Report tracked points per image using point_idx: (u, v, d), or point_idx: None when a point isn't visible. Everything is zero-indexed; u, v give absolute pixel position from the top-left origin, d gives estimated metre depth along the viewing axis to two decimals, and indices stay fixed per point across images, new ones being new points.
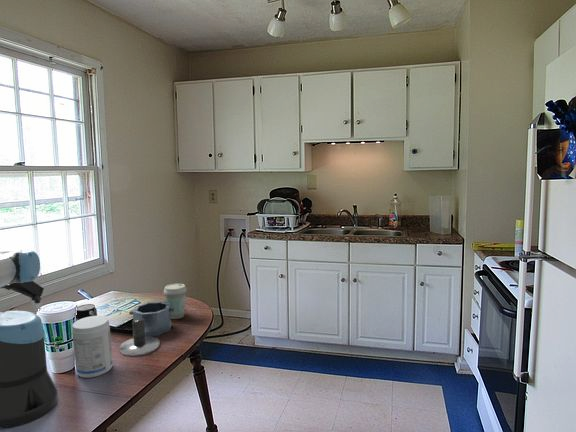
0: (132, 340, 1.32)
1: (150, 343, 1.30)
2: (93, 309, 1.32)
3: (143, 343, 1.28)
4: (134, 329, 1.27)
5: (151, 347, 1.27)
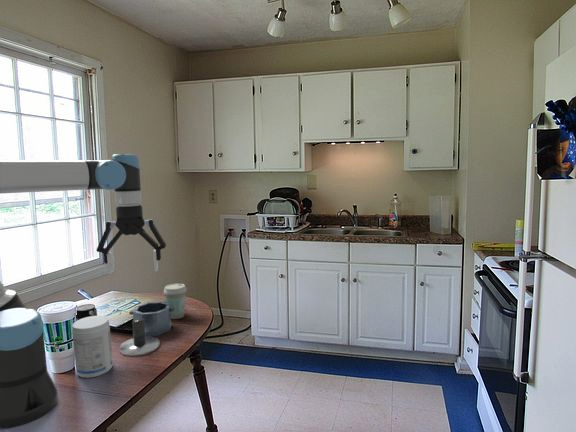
0: (132, 340, 1.32)
1: (150, 343, 1.30)
2: (93, 309, 1.32)
3: (143, 343, 1.28)
4: (134, 329, 1.27)
5: (151, 347, 1.27)
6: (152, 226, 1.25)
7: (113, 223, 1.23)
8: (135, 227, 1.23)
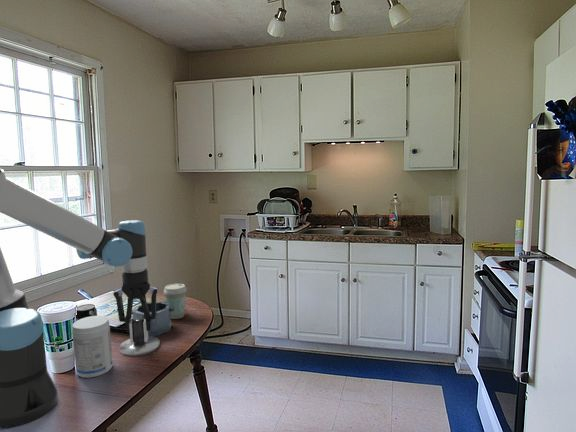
0: None
1: (150, 343, 1.30)
2: (93, 309, 1.32)
3: (143, 343, 1.28)
4: (134, 329, 1.27)
5: (151, 346, 1.27)
6: (154, 295, 1.27)
7: (120, 290, 1.26)
8: (140, 292, 1.25)
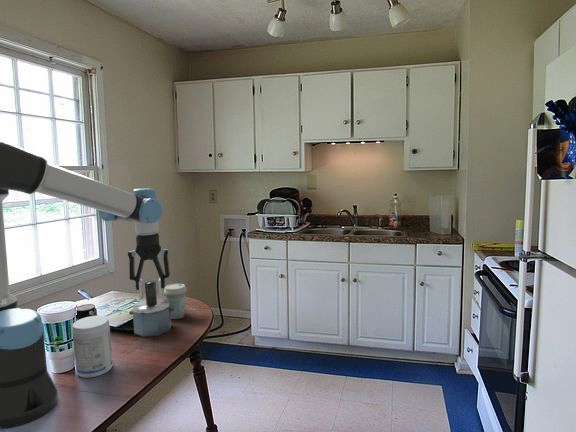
0: (144, 301, 1.45)
1: (161, 303, 1.43)
2: (93, 309, 1.32)
3: (155, 303, 1.41)
4: (146, 290, 1.40)
5: (162, 306, 1.40)
6: (165, 256, 1.40)
7: (133, 251, 1.39)
8: (152, 254, 1.38)
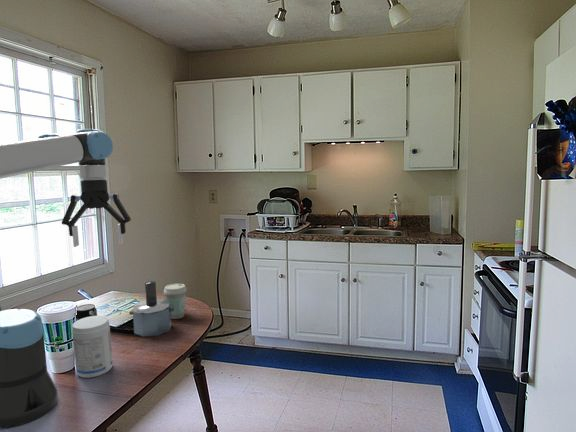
0: (144, 301, 1.45)
1: (161, 303, 1.43)
2: (93, 309, 1.32)
3: (155, 303, 1.41)
4: (146, 290, 1.40)
5: (162, 306, 1.40)
6: (116, 200, 1.28)
7: (78, 197, 1.27)
8: (99, 201, 1.27)
